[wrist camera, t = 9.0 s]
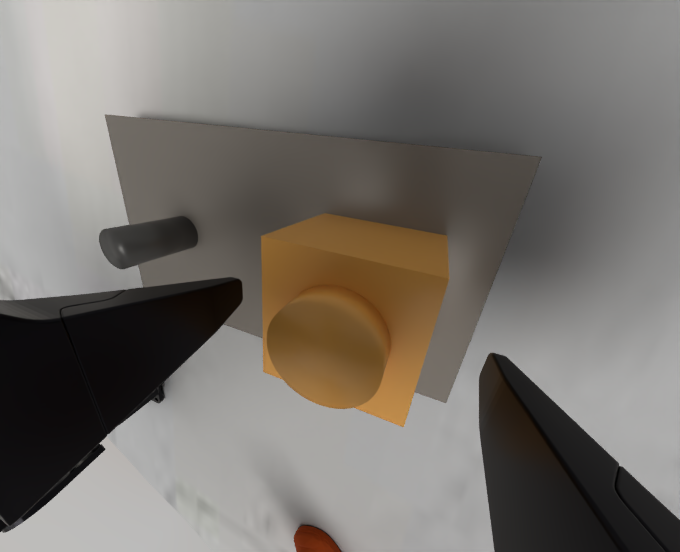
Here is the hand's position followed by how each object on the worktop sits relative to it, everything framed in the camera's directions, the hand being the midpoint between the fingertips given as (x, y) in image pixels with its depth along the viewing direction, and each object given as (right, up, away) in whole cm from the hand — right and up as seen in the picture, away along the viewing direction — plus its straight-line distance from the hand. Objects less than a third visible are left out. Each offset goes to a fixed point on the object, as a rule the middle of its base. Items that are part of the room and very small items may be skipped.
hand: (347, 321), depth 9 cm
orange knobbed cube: (+1, +1, +4) cm, 4 cm away
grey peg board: (-3, +4, +7) cm, 9 cm away
